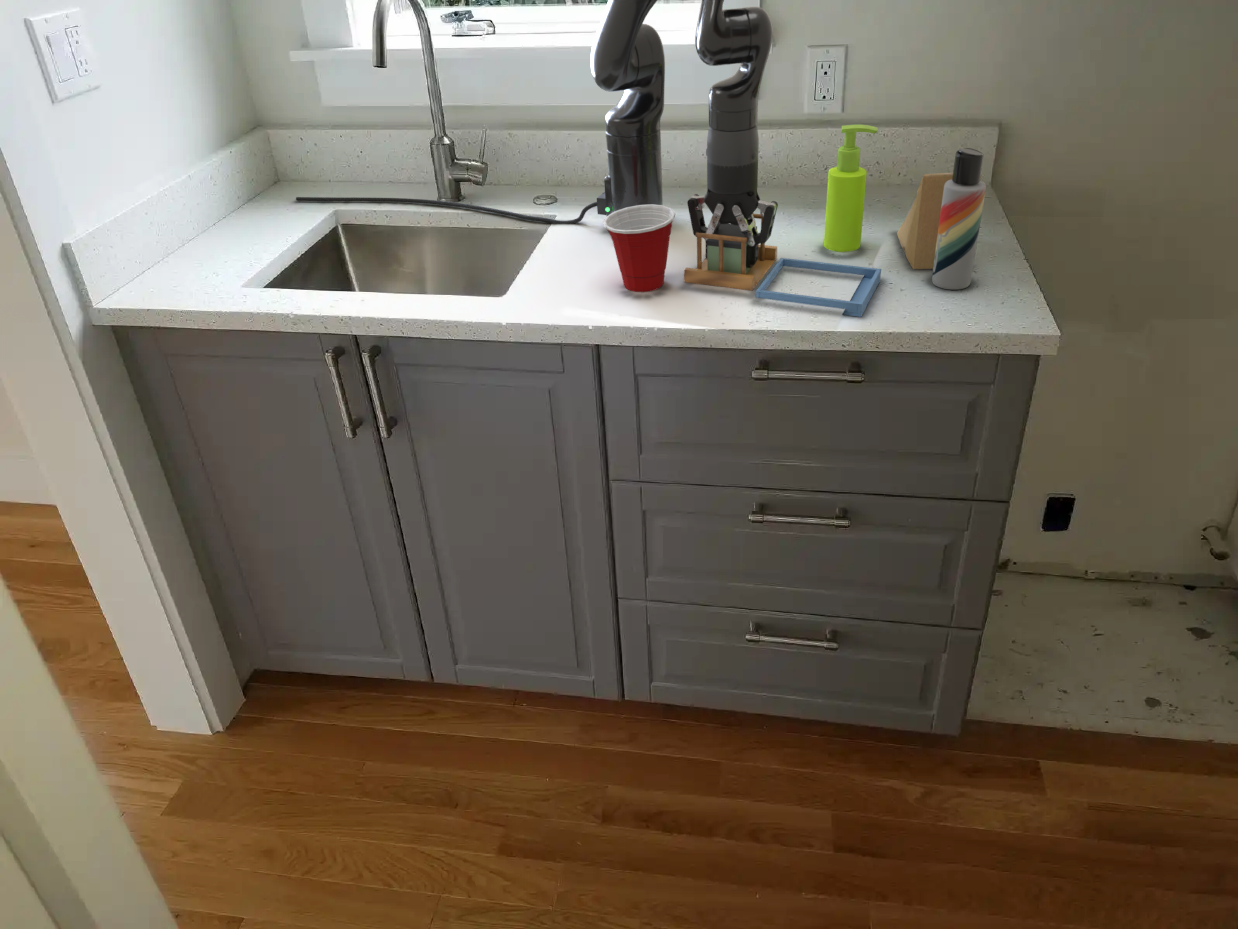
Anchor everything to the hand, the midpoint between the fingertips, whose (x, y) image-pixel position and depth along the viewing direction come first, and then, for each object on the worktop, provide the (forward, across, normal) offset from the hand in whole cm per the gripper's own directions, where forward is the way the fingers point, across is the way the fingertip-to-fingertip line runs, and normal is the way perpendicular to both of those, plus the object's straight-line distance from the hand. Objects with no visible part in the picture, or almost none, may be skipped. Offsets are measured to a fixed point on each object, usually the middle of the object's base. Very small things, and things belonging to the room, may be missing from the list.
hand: (731, 263), depth 153 cm
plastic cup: (+2, +12, +9) cm, 15 cm away
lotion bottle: (+2, -32, -7) cm, 33 cm away
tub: (+1, 0, 0) cm, 1 cm away
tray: (+2, -14, +2) cm, 15 cm away
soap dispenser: (+2, -14, -15) cm, 21 cm away
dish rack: (+2, 0, 0) cm, 2 cm away
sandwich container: (+2, -28, -19) cm, 33 cm away
